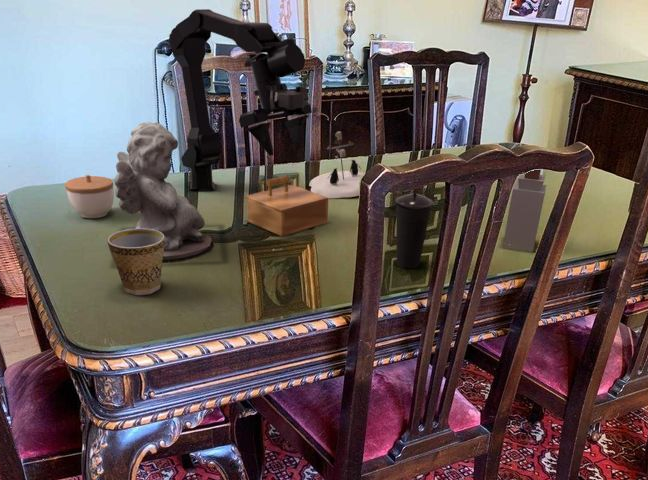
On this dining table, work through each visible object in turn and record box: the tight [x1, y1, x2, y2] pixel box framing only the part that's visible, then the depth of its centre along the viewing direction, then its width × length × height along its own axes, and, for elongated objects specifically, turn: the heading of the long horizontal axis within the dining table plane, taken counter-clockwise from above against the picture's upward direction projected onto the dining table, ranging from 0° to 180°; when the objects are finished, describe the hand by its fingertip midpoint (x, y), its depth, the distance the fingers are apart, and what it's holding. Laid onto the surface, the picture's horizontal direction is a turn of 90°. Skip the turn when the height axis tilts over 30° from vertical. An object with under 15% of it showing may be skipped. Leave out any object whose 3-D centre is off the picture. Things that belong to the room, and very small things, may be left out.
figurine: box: [308, 131, 365, 199], centre depth 175 cm, size 20×18×16 cm
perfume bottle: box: [502, 169, 548, 253], centre depth 142 cm, size 7×7×18 cm
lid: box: [244, 175, 329, 213], centre depth 151 cm, size 13×15×5 cm
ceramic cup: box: [106, 227, 164, 296], centre depth 119 cm, size 13×10×10 cm
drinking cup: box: [394, 188, 434, 269], centre depth 130 cm, size 8×8×20 cm
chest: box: [246, 199, 329, 237], centre depth 153 cm, size 13×15×5 cm
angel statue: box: [114, 121, 215, 263], centre depth 133 cm, size 22×22×25 cm
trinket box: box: [64, 174, 115, 219], centre depth 152 cm, size 11×11×9 cm
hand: (285, 152), depth 151 cm, fingers open, 9 cm apart
